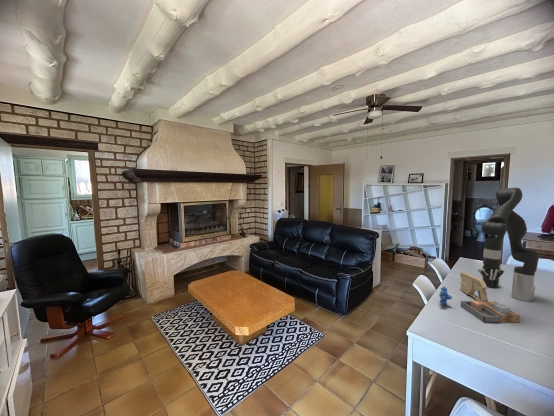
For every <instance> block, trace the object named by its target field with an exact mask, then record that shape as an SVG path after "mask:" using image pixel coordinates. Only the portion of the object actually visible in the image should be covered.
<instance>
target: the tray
mask: <svg viewBox="0 0 554 416" xmlns="http://www.w3.org/2000/svg"><path fill="white" fill-rule="evenodd" d="M471 301H472V300H460V308H462V309H464V310H465V311H467V312H468V313H470V315H472V316H474V317H475V318H476V319H478V320H480V321H481V322H482V323H488V324H500V323H501V322H500V318H501V317H500V316H498V315H497V314H495V313H493V312H492V311H490V310H489V309H487V308H485V307H484V306H482V312H478V311H477V310H475V309H474V308H472V307H471V306H470V304H471Z"/></svg>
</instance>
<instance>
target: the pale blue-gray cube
mask: <svg viewBox="0 0 554 416" xmlns="http://www.w3.org/2000/svg"><path fill="white" fill-rule="evenodd" d="M494 310H496V311H498V312H499V313H506V314H509V311H510V310H511V309H510V307H508V306H507V305H504V304H503V303H498V304H494Z"/></svg>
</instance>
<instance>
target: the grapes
mask: <svg viewBox="0 0 554 416" xmlns="http://www.w3.org/2000/svg"><path fill="white" fill-rule="evenodd" d="M440 290H441V291H439V294H438V295H439V299H440V300H439V303H440V305H442V306H445V305H446V304H447V301H448V300H452V299H453V297H452V296H451V295H450V294H449V293H448V288H447V287H446V286H442V287H441V288H440Z"/></svg>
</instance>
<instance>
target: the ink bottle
mask: <svg viewBox="0 0 554 416" xmlns="http://www.w3.org/2000/svg"><path fill="white" fill-rule="evenodd" d="M482 280H483V281H484V282H485V284H486V286H487V288H491V289H498V288H499V287H500V277H499V278H498V279H495V280H494V285H493V286H489V285H487V279H486V278H484V277H483V276H482Z"/></svg>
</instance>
